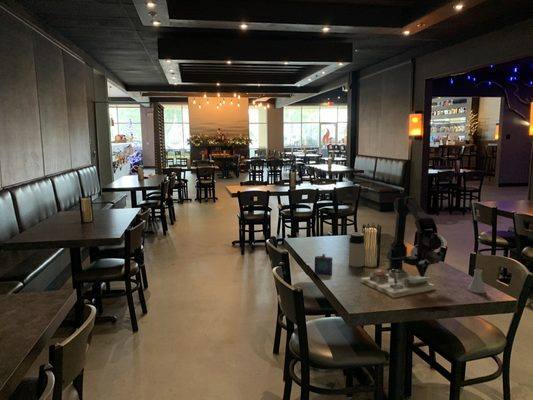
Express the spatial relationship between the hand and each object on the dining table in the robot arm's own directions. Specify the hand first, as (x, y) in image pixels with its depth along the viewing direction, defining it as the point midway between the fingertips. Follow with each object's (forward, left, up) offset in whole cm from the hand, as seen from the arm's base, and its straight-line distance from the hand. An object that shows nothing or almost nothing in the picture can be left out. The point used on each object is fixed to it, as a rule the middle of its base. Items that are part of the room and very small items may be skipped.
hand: (422, 276), depth 195 cm
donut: (-36, +34, -6) cm, 50 cm away
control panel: (-9, -6, -6) cm, 13 cm away
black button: (-15, 0, -4) cm, 16 cm away
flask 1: (-40, -28, -6) cm, 49 cm away
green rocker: (-3, 0, -2) cm, 4 cm away
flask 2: (+12, +22, -7) cm, 26 cm away
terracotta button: (-15, -12, -2) cm, 20 cm away
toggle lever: (-3, -12, -3) cm, 13 cm away
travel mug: (-45, -3, -6) cm, 45 cm away
